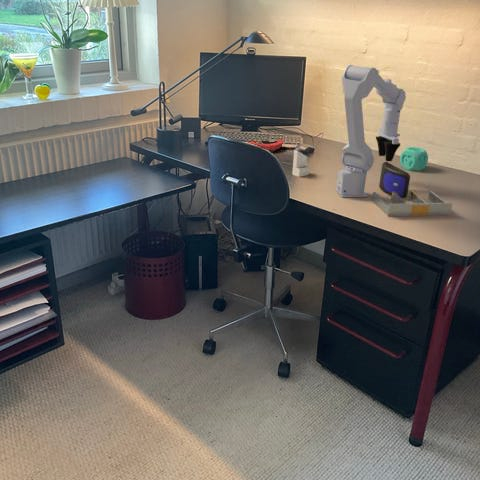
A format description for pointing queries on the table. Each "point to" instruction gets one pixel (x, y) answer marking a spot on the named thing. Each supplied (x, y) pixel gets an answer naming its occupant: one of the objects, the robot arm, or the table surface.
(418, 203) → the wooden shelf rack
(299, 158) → the white wedge bracket
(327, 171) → the table surface
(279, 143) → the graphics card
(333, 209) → the table surface
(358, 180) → the robot arm
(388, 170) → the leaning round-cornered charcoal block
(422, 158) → the decorative dice
